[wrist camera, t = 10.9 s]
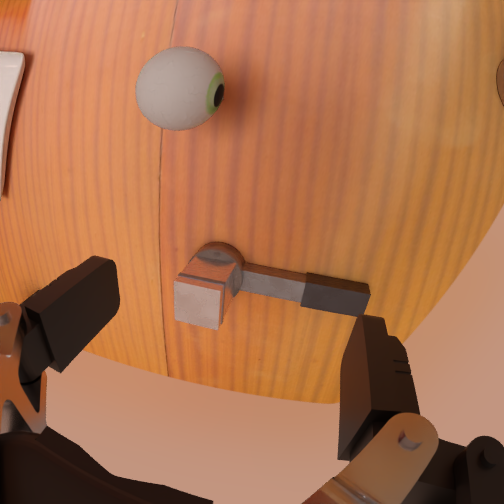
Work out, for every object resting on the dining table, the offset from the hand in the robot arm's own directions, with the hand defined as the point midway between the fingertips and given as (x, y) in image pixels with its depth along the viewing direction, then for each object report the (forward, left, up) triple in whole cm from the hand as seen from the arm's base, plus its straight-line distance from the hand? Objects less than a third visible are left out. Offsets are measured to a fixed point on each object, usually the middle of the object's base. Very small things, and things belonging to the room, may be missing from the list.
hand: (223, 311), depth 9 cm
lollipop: (+9, -8, -27) cm, 30 cm away
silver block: (+7, +13, -24) cm, 28 cm away
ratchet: (-1, +13, -27) cm, 30 cm away
